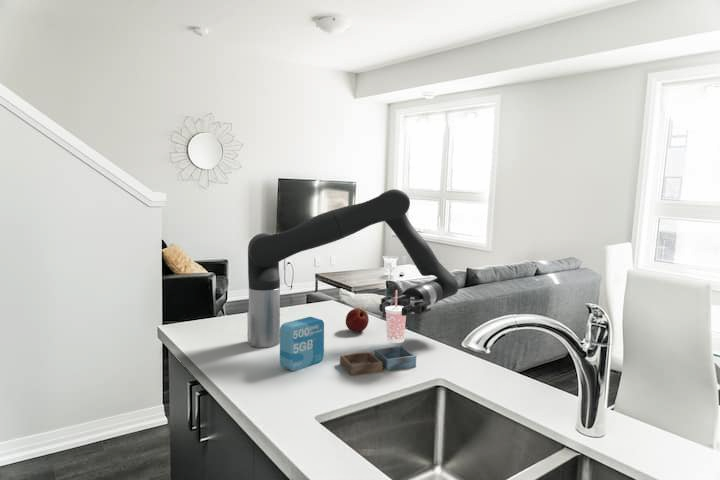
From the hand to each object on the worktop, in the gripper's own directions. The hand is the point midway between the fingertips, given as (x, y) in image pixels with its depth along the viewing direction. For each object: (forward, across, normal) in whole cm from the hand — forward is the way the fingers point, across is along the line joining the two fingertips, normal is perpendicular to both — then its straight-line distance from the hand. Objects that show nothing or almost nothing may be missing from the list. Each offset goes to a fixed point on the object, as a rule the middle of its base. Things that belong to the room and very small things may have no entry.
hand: (392, 310), depth 131 cm
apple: (-21, -24, +16) cm, 36 cm away
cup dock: (+2, -3, +15) cm, 16 cm away
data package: (+13, -20, +16) cm, 29 cm away
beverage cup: (-2, 0, +9) cm, 10 cm away
